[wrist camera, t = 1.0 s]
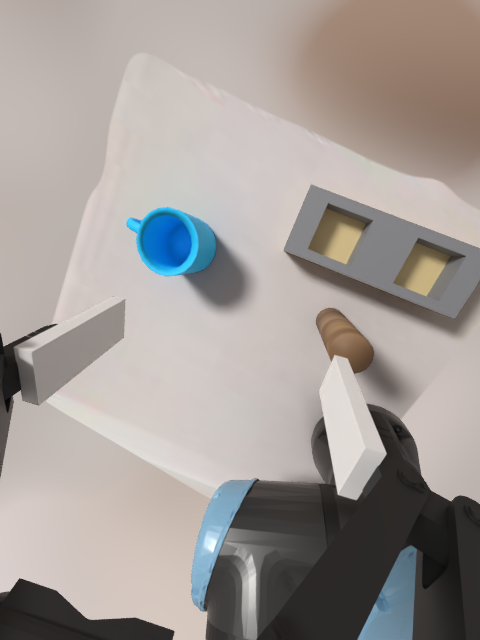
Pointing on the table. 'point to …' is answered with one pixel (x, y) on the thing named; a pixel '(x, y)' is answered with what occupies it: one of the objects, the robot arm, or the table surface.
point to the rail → (385, 252)
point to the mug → (173, 242)
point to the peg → (344, 339)
